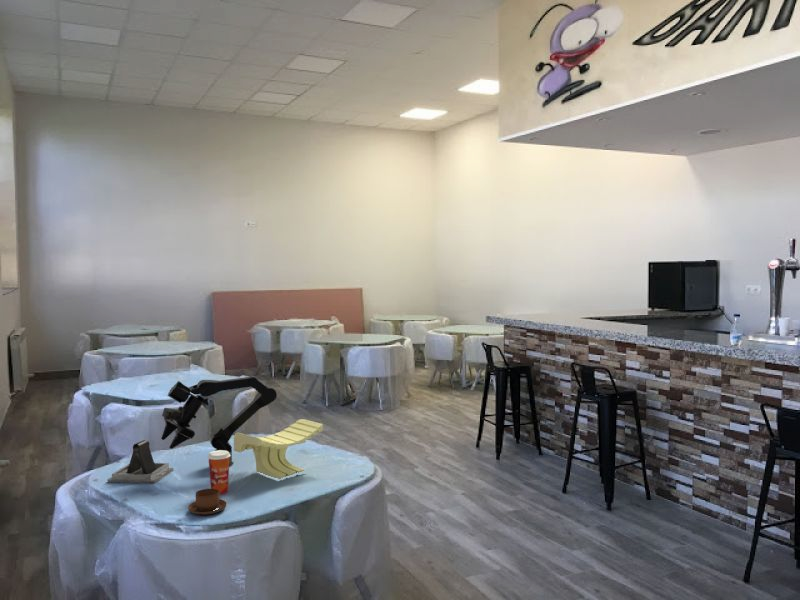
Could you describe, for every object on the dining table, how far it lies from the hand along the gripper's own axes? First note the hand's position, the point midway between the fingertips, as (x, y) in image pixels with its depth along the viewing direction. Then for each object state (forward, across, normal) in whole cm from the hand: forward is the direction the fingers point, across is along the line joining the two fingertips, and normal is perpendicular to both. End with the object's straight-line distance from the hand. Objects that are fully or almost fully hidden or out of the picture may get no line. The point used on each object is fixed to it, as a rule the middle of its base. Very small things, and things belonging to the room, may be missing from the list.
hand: (166, 443), depth 258 cm
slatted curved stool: (-14, +29, +32) cm, 45 cm away
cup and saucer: (+4, +50, -1) cm, 50 cm away
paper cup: (0, +35, +9) cm, 36 cm away
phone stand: (+14, +1, -2) cm, 14 cm away
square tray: (+14, +1, -1) cm, 14 cm away
